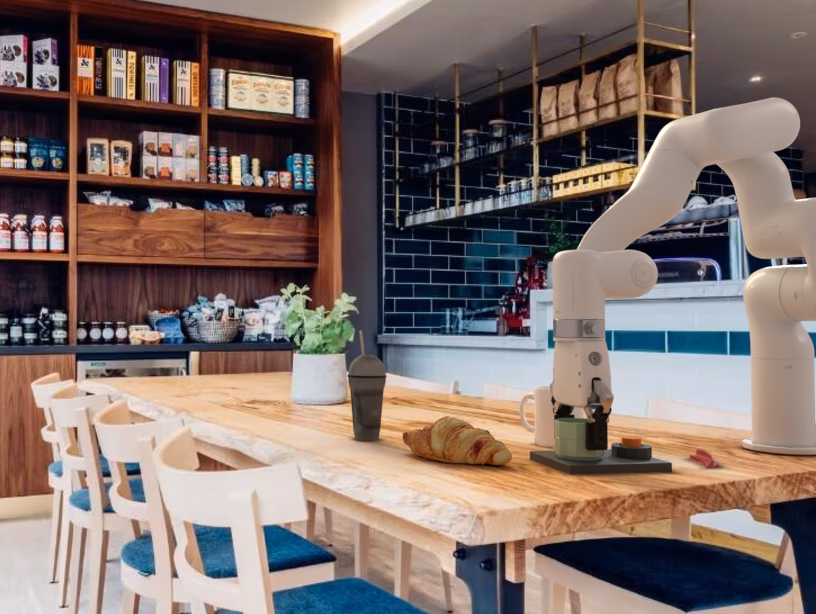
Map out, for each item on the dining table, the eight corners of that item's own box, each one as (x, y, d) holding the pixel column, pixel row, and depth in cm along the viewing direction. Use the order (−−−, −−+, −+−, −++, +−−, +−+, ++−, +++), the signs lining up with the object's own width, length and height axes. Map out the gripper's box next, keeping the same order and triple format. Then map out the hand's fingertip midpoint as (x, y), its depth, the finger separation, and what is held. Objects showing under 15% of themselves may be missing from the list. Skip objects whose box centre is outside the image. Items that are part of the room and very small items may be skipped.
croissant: (522, 489, 124) (536, 440, 127) (487, 464, 118) (503, 413, 121) (413, 467, 140) (428, 423, 142) (377, 444, 134) (394, 399, 137)
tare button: (634, 446, 128) (634, 436, 128) (644, 449, 125) (644, 438, 125) (617, 446, 128) (617, 436, 128) (627, 449, 125) (627, 439, 125)
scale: (625, 457, 133) (624, 438, 133) (674, 472, 120) (674, 451, 121) (529, 460, 131) (529, 440, 131) (569, 475, 118) (569, 454, 118)
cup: (568, 450, 140) (568, 390, 141) (507, 442, 149) (507, 386, 150) (592, 445, 146) (592, 387, 147) (532, 438, 155) (531, 383, 155)
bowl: (588, 453, 129) (588, 417, 129) (613, 460, 122) (612, 423, 122) (546, 453, 128) (546, 418, 128) (568, 461, 121) (568, 423, 121)
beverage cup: (385, 442, 148) (385, 330, 149) (344, 441, 149) (345, 330, 150) (387, 437, 155) (387, 330, 156) (349, 436, 156) (349, 330, 157)
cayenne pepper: (691, 456, 135) (691, 444, 135) (723, 458, 133) (723, 446, 133) (682, 467, 125) (682, 454, 125) (716, 470, 123) (716, 457, 123)
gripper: (633, 332, 118) (635, 453, 117) (573, 330, 135) (574, 436, 134) (584, 332, 117) (585, 455, 116) (530, 330, 134) (531, 437, 133)
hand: (579, 445), depth 125 cm, fingers open, 9 cm apart
